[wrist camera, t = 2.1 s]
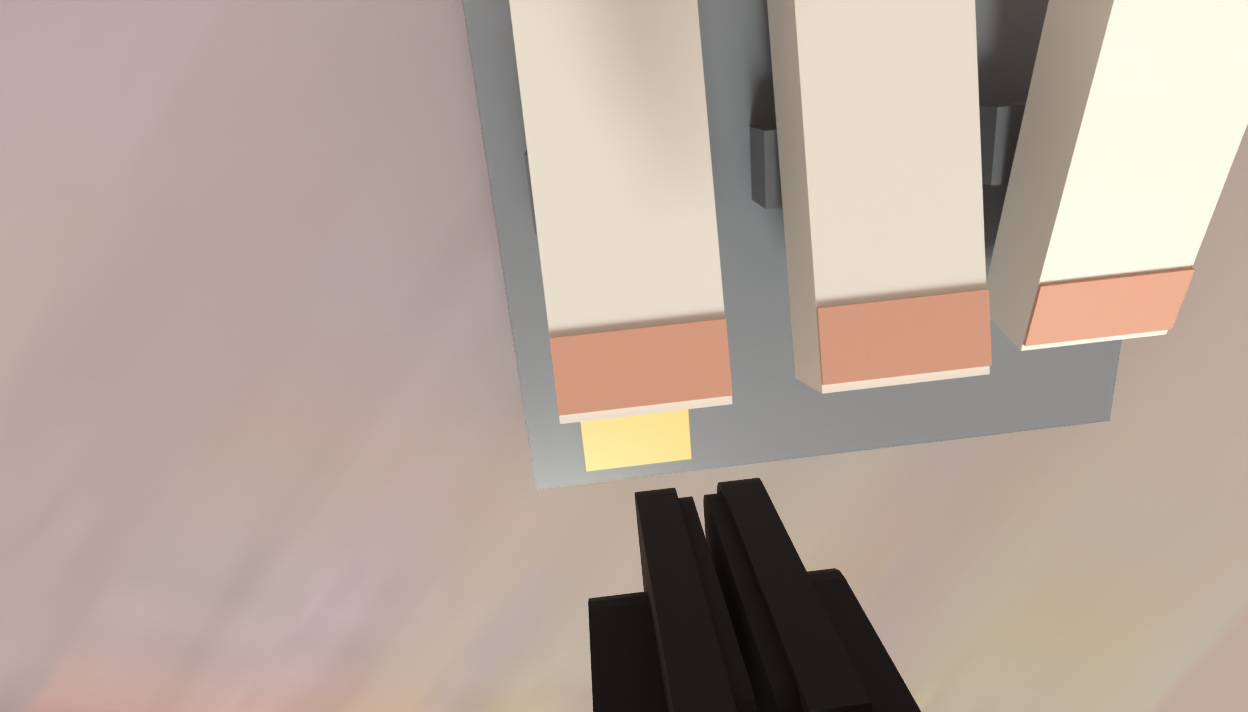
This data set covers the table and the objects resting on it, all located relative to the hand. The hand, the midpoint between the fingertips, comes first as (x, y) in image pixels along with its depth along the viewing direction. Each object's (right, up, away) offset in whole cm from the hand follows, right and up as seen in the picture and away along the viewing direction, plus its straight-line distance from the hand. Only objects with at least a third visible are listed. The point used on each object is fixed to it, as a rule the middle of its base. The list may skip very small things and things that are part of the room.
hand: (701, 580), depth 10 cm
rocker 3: (+10, +8, +6) cm, 14 cm away
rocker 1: (-1, +6, +7) cm, 10 cm away
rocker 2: (+4, +7, +6) cm, 10 cm away
